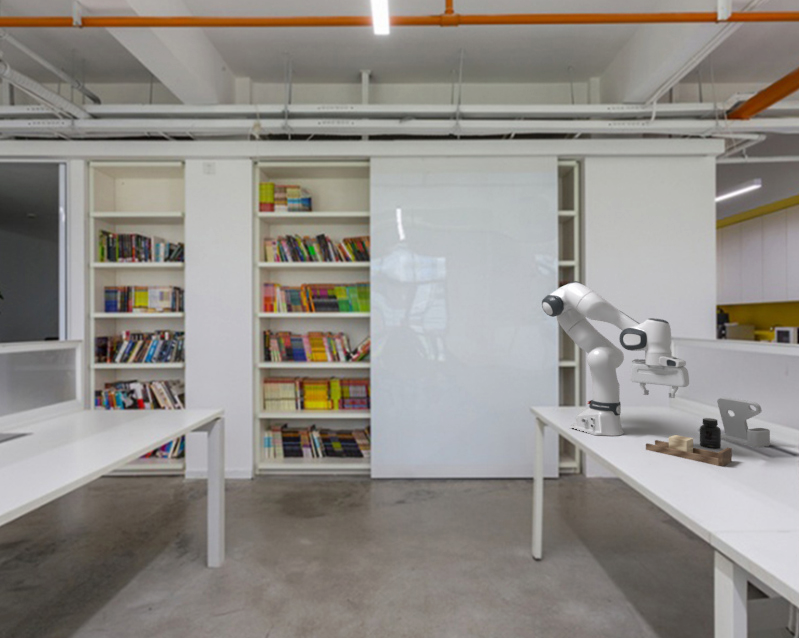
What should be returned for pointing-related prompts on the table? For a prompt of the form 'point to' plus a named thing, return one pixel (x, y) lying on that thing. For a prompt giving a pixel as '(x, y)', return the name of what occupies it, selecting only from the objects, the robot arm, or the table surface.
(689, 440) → the maple block
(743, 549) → the table surface
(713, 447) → the supplement bottle
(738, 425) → the phone holder
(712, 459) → the walnut chute
